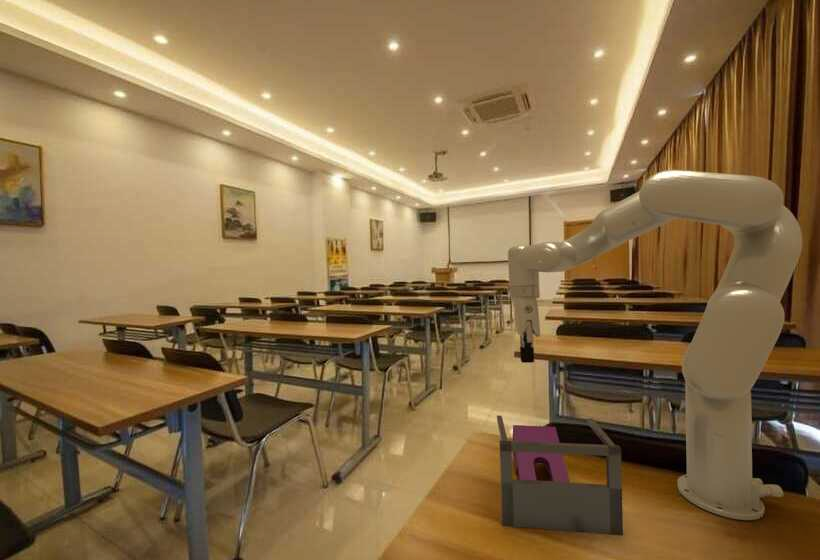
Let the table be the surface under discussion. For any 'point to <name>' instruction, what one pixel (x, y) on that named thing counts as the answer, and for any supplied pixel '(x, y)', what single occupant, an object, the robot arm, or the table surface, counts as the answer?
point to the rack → (562, 490)
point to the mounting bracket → (528, 459)
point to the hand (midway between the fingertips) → (527, 361)
